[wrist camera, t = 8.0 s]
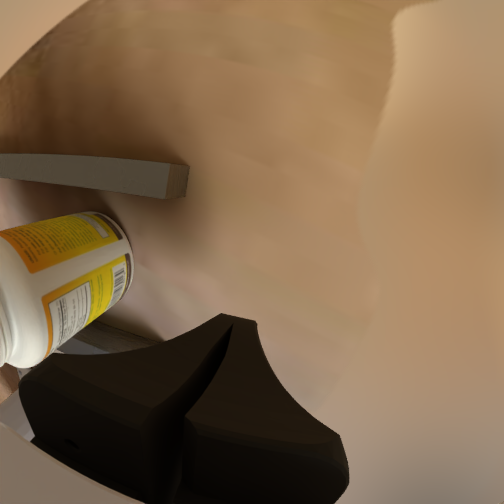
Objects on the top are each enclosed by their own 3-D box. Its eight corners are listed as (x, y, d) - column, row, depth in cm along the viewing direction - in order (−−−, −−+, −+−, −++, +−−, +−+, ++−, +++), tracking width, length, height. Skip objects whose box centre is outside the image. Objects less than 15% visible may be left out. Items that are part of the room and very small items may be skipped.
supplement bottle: (56, 224, 16) (-81, 265, 6) (122, 197, 15) (-46, 228, 5) (82, 308, 17) (-34, 389, 7) (151, 295, 16) (23, 407, 6)
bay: (168, 365, 17) (149, 394, 14) (-16, 285, 18) (-39, 295, 16) (189, 166, 14) (165, 162, 11) (-18, 154, 16) (-44, 155, 13)
